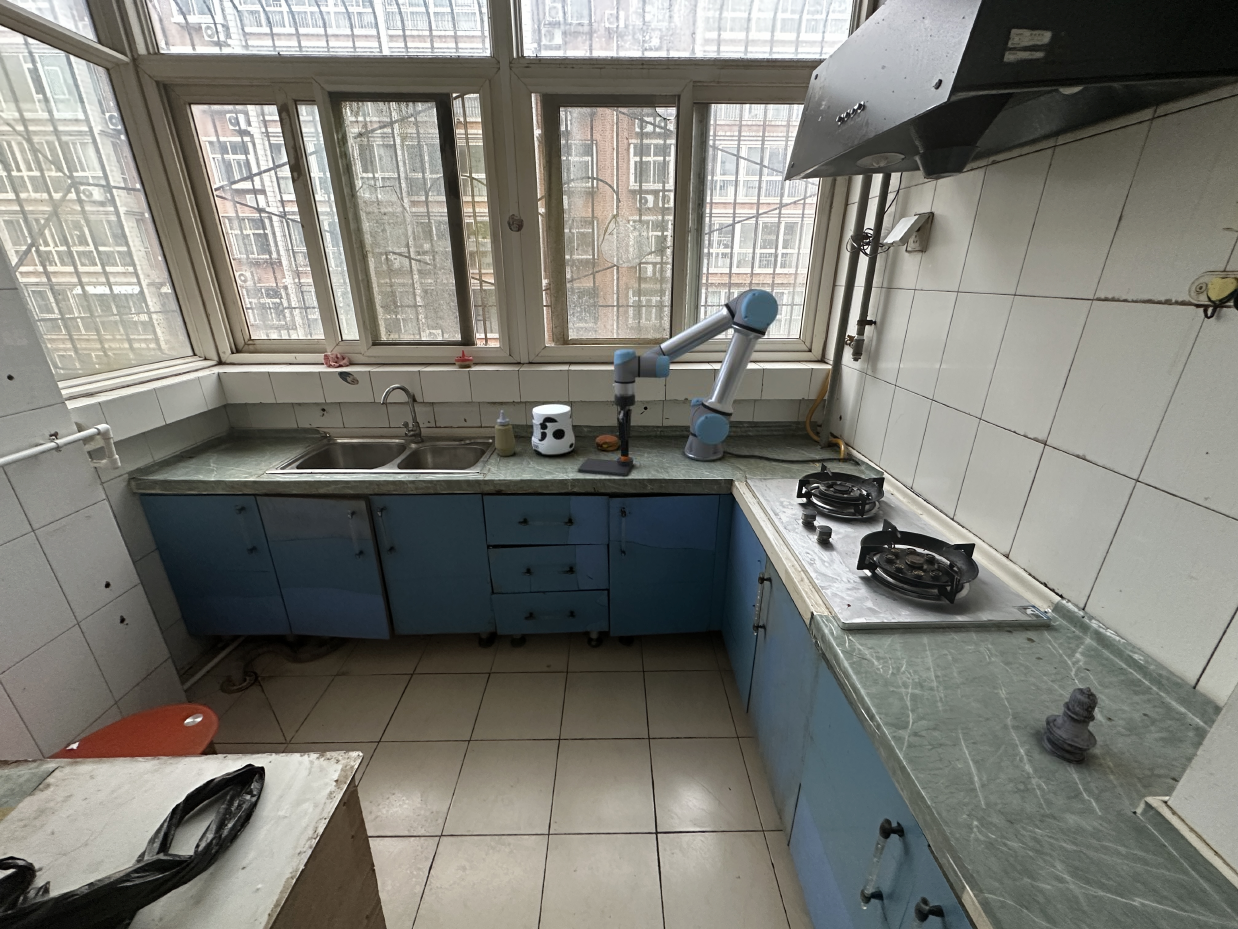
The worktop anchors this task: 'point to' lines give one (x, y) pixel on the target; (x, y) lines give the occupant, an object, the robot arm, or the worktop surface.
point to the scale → (607, 466)
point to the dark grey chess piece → (1072, 727)
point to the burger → (607, 442)
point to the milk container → (552, 430)
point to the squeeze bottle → (504, 436)
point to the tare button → (624, 458)
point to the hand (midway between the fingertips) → (624, 455)
